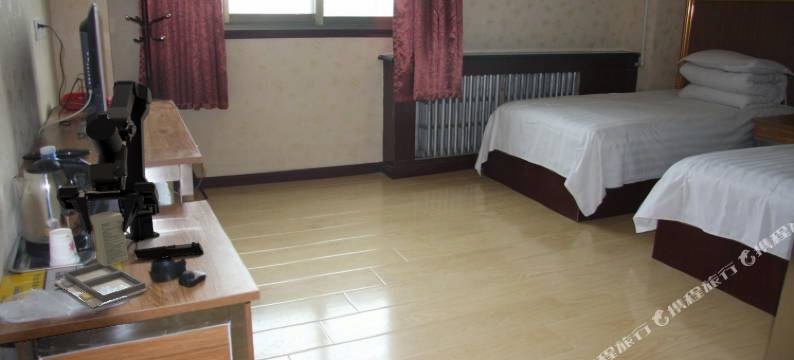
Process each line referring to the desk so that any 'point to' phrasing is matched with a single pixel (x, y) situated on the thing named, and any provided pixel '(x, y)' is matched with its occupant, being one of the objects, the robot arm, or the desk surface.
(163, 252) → the electric trimmer
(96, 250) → the skincare box
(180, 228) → the desk surface
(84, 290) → the divided tray
